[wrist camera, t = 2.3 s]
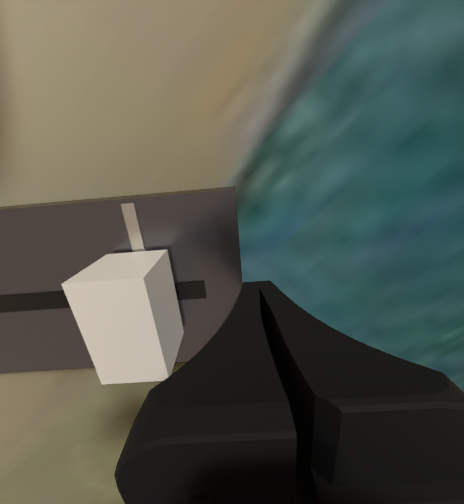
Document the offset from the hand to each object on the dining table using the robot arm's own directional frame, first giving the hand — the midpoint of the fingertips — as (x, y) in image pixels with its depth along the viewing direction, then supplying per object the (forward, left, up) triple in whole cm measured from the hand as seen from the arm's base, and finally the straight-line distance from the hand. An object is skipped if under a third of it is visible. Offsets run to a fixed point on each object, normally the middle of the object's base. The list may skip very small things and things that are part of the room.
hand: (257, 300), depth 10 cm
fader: (0, +6, -1) cm, 6 cm away
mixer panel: (0, +13, -3) cm, 13 cm away
